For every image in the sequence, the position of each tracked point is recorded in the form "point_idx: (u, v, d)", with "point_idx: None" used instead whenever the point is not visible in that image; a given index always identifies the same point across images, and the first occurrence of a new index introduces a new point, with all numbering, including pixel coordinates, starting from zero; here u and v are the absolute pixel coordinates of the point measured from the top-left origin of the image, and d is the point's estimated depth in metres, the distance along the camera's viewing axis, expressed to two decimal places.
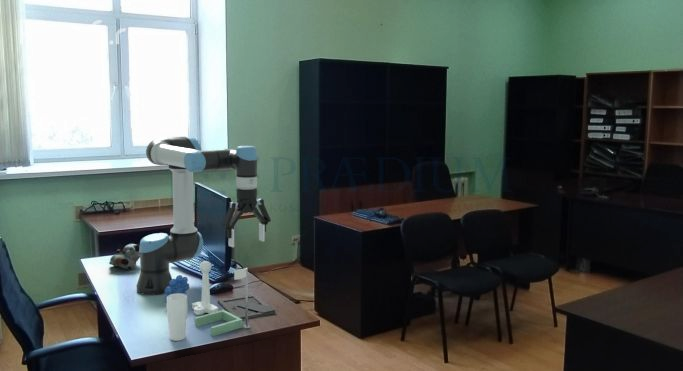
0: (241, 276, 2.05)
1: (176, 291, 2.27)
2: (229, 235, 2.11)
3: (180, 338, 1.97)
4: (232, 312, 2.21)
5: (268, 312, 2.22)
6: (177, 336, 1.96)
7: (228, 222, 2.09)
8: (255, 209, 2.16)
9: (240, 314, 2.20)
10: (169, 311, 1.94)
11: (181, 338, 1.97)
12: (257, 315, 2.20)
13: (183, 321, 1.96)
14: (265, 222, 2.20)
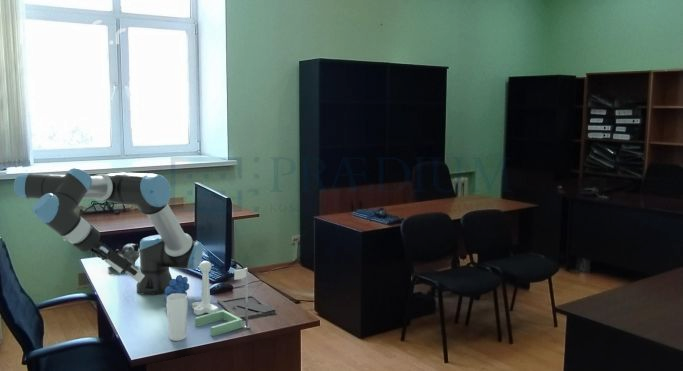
0: (241, 276, 2.05)
1: (176, 291, 2.27)
2: None
3: (180, 338, 1.97)
4: (232, 312, 2.21)
5: (268, 312, 2.22)
6: (177, 336, 1.96)
7: (96, 254, 1.84)
8: (102, 257, 1.74)
9: (240, 314, 2.21)
10: (169, 311, 1.95)
11: (181, 338, 1.97)
12: (257, 315, 2.20)
13: (183, 321, 1.96)
14: None
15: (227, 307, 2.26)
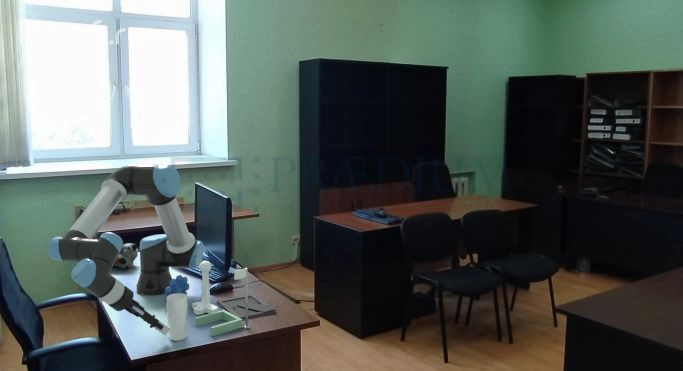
0: (241, 276, 2.05)
1: (176, 291, 2.27)
2: None
3: (180, 338, 1.97)
4: (233, 312, 2.21)
5: (269, 311, 2.23)
6: (178, 336, 1.96)
7: None
8: None
9: (241, 314, 2.21)
10: (169, 311, 1.95)
11: (181, 338, 1.97)
12: (258, 314, 2.20)
13: (183, 321, 1.96)
14: (150, 325, 1.90)
15: (227, 307, 2.26)
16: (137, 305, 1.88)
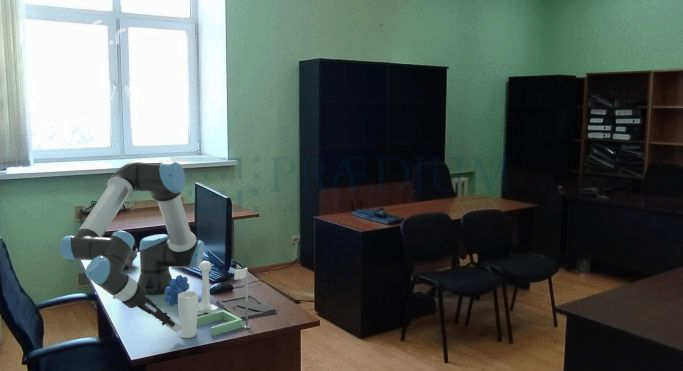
0: (241, 276, 2.05)
1: (176, 291, 2.27)
2: None
3: (191, 335, 1.99)
4: (233, 312, 2.21)
5: (269, 311, 2.23)
6: (189, 333, 1.99)
7: None
8: None
9: (241, 314, 2.21)
10: (180, 308, 1.97)
11: (192, 335, 1.99)
12: (258, 314, 2.21)
13: (194, 319, 1.99)
14: (162, 322, 1.92)
15: (227, 307, 2.26)
16: None
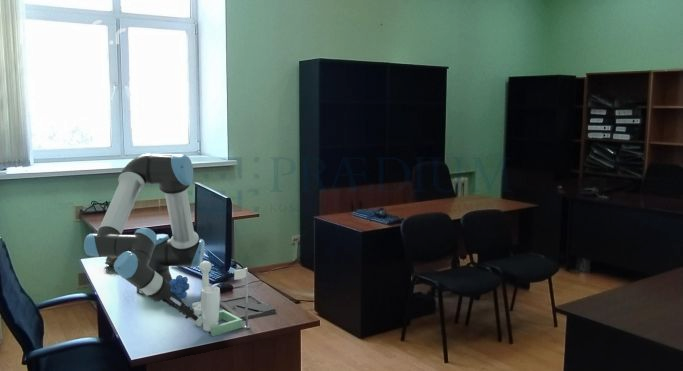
0: (241, 276, 2.05)
1: (176, 291, 2.27)
2: None
3: None
4: (233, 312, 2.21)
5: (269, 311, 2.23)
6: (210, 327, 2.04)
7: (175, 308, 2.00)
8: (171, 305, 1.94)
9: (241, 314, 2.21)
10: (203, 302, 2.03)
11: None
12: (258, 314, 2.21)
13: (216, 313, 2.04)
14: (186, 316, 1.98)
15: (227, 307, 2.26)
16: None
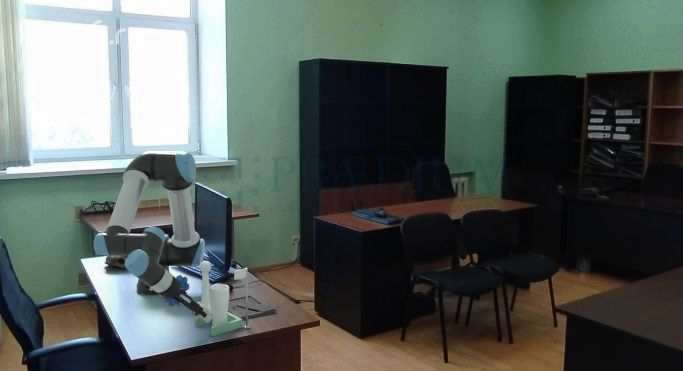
0: (241, 276, 2.05)
1: None
2: None
3: None
4: (233, 312, 2.21)
5: (269, 311, 2.23)
6: None
7: (184, 305, 2.03)
8: (181, 303, 1.97)
9: (241, 313, 2.21)
10: (212, 300, 2.05)
11: None
12: (258, 314, 2.21)
13: (225, 310, 2.07)
14: (195, 313, 2.01)
15: None
16: None
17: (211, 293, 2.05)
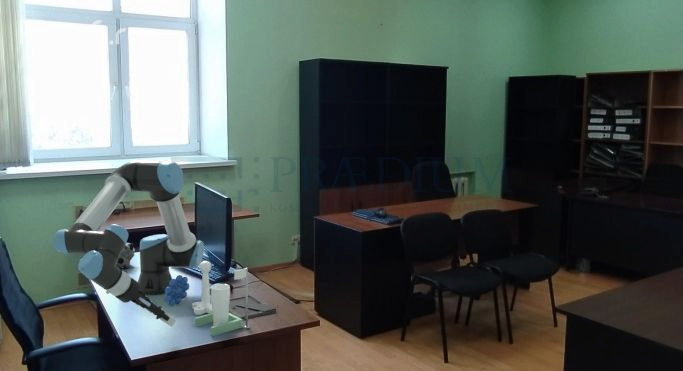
0: (241, 276, 2.05)
1: (176, 291, 2.27)
2: None
3: None
4: (233, 312, 2.21)
5: (269, 311, 2.24)
6: None
7: None
8: None
9: (241, 313, 2.21)
10: (213, 300, 2.06)
11: None
12: (259, 314, 2.21)
13: (226, 310, 2.07)
14: (157, 316, 1.91)
15: None
16: None
17: (212, 293, 2.06)
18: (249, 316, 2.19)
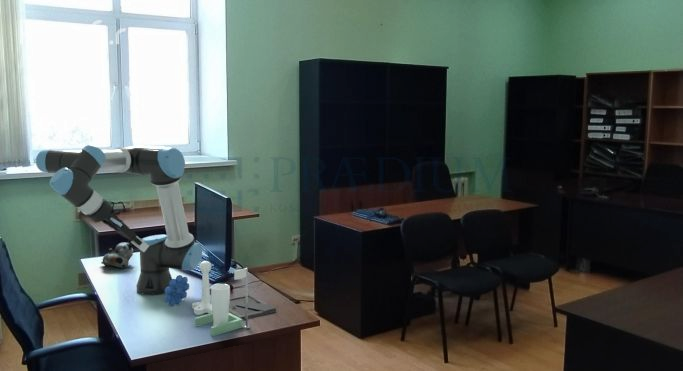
0: (241, 276, 2.05)
1: (176, 291, 2.27)
2: None
3: None
4: (233, 312, 2.21)
5: (269, 310, 2.24)
6: None
7: None
8: (112, 227, 1.89)
9: (242, 313, 2.21)
10: (213, 300, 2.06)
11: None
12: (259, 314, 2.21)
13: (226, 310, 2.07)
14: (129, 240, 1.94)
15: None
16: None
17: (212, 293, 2.06)
18: (249, 316, 2.19)
